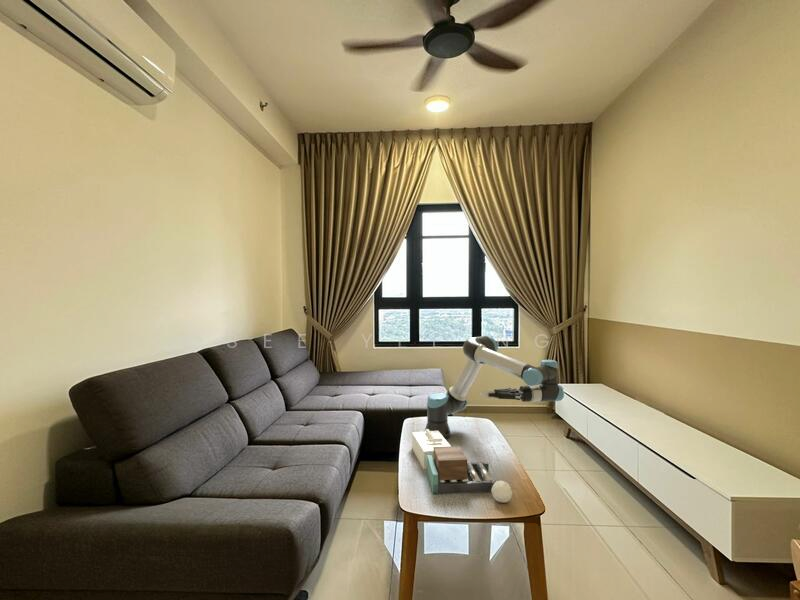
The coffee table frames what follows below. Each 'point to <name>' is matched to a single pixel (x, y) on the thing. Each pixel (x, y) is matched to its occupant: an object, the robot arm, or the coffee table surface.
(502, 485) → the geometric ball
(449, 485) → the roller track
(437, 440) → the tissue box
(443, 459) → the brown wooden block
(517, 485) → the coffee table surface
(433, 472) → the teal stop bar
